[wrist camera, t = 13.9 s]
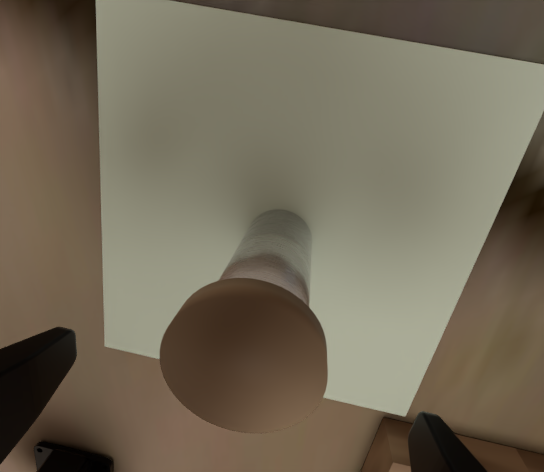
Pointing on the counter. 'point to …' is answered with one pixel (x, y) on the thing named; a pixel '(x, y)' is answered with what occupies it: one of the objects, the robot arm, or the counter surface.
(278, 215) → the metal peg
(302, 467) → the counter surface
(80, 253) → the counter surface
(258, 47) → the sage mat
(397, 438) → the walnut block
